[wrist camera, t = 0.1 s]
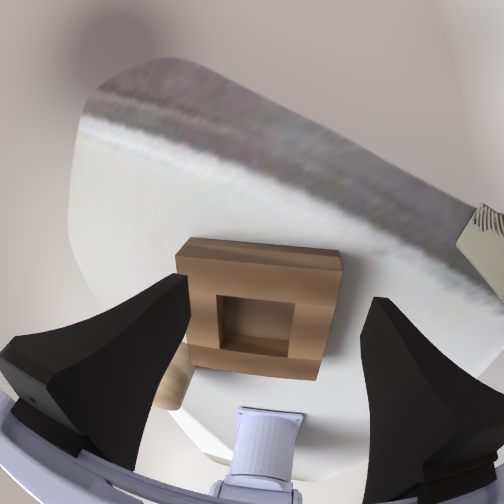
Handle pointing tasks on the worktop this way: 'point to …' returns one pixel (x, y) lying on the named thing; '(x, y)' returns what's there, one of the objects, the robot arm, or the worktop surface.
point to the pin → (175, 380)
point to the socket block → (259, 306)
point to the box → (485, 246)
